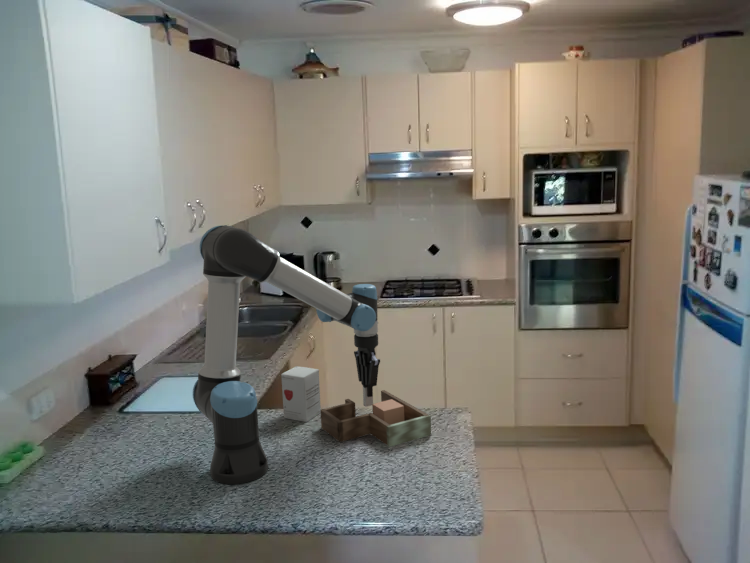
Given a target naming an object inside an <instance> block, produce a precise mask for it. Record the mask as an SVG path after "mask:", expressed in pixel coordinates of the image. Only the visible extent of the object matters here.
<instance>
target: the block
mask: <svg viewBox="0 0 750 563" xmlns="http://www.w3.org/2000/svg"><path fill="white" fill-rule="evenodd" d="M371 406H372V414H374V415H375V416H377V417H378V418H380V419H382V420H383V421H385V422H386V423H388V424H389V425H392V424H395V423H399V422H403V421H404V406H403V405H401V404H400V403H398V402H396V401H394V400H392V399H391V400H387V401H383V402H381V401H379V402H376V403H373V404H372V405H371Z"/></svg>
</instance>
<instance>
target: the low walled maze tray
mask: <svg viewBox="0 0 750 563" xmlns="http://www.w3.org/2000/svg"><path fill="white" fill-rule="evenodd" d="M391 399H392V400H394V401H396V402H398V403H400V404H401V405H403V406H404V421H403V422H399V423H395V424H392V425H389V424H388V423H386V422H385V421H383V420H382V419H380V418H378V417H377V416H375V415H374V414H373V412H369V413H370V414H371V415H370V434H369V435H371V436H373V437H374V438H376V439H377V440H378V441H380V442H381V443H383V444H385V446H387V447H389V448H392V447H395V446H397V445H402V444H405V443H409V442H411V441H415V440H419V439H422V438H426V437H429V436H432V422H431V421H432V420H431V418H432V417H431V416H432V415H430V414H428V413H426V412H425V411H423V410H421V409H419V408H417V407H415V406H413V405H412V404H410V403H408V402H407V401H405V400H403V399H401V398H399V397H397V395H394V394H392V393H391V392H388V391H387V390H385V389H383V390H380V400H381V401H380V402H383V401H387V400H391ZM344 401H345V402H344V404H346V403H350V402H352V405H353V404H354V405H353V406H352V409H353V411H352V412H354V413H352V414H353V415H354V416H353V415H352V416H353V417H357V413H356V402H354V401H353V400H351V399H350V398H345V399H344ZM353 407H354V408H353Z"/></svg>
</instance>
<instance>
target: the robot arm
mask: <svg viewBox="0 0 750 563" xmlns="http://www.w3.org/2000/svg"><path fill="white" fill-rule="evenodd" d="M199 253H200V257H201V258H202V259H203V272H202V274H203V276H204V277H205V278H206V279H207V281H208V284H207V300H206V301H207V303H206V325H205V345H204V361H203V362H204V364H203V366H202V367H201V368H199V370H198V372H197V373H198V374H197V375H198V377H197V380H196V382H195V383H194V385H193V387H192V399H193V402H194V405H195V407H196V408H197V410H198V411H199V412H200V413H202V415H204V417H206V419H208V420H209V421H210V422H211V423H212V426H213V437H214V438H213V439H214V450H213V454H212V457H211V463H210V466H209V469H210V471H209V472H210V477H211V479H213V481H216V482H217V483H220V484H225V485H237V484H238V485H239V484H245V483H250V482H253V481H255V480H257V479H260V478H261V477H263V476H264V475H265V474H266V473H267V472H268V470H269V463H268V462H269V461H268V457H267V455H266V453H265V451H264V448H263V446H262V444H261V441H260V429H259V416H258V398H257V394H256V391H255V388H254V387H253V386H252V385H251V384H249V383H247V382H245V381H242V382H241V378H242V374H241V372H242V371H241V370H240V369H239V368H238V367H237V365H236V364H237V352H238V350H237V349H238V348H237V347H238V330H239V314H240V313H239V311H240V295H241V294H240V293H241V292H240V291H241V290H240V289H241V283H242V281H243V280H245V279H246V277H247V278H250V279H251V280H254V281H256V282H257V283H260V284H262V283H267V284H269V285H271V286H274V287H275V288H277V289H278V290H281V291H283V292H285V293H286V294H288V295H290V296H292V297H294V298H296V299H297V300H299V301H302V302H303V303H304V304H307V305H308V306H311V307H312V308H314V309H316V315H317V318H318V319H319V320H320V321H321V323H328V322H329V323H332V322H337V323H340V324H342V325H344V326H347V327H349V328H352V329H353V333H354V335H353V339H354V340H353V342H354V343H353V344H354V346H355V347H356V348H357V350H354V351H353V355H354V358H355V363H356V369H357V370H356V371H357V378H358V381H359V382H360V383H361V384H360V385H362V399H363V400H362V402H363V403H362V404H363V406H364V407H366V408H367V407H370V406H372V404H374V393H373V389H374V388H373V387H376V386H377V383H378V374H379V365H380V364H381V358H377V357H376V347H378V346H379V334H378V332H379V328H378V324H379V321H378V319H379V318H378V300H379V299H378V292H377V287H376V285H374V284H370V283H359V284H354V285H353V286H352V290H351V292H350V293H344V292H343V291H341V290H339V289H337V288H336V287H334V286H332V285H331V284H330V283H327V282H325V281H324V280H323V279H319V278H318V277H316V276H315V275H313V274H311V273H309V272H308V271H306V270H304V269H303V268H300V267H299V266H297V265H295V264H294V263H292V262H290V261H288V260H287V259H285V258H283V257H281V256H280V253H279V251H278V250H276V249H275V248H273V247H271V246H270V245H269V244H268V243H266V242H264V241H263V240H262V239H260V238H258V237H257V236H256V235H254V234H253V233H251V232H250V231H248V230H246V229H242V228H239V227H238V228H237V227H234V226H232V225H217V226H212V227H211V228H209V229H208V230H207V231H206V232H204V234H203V235H202V237H201V238H200V242H199Z"/></svg>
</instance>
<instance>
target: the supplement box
mask: <svg viewBox="0 0 750 563" xmlns="http://www.w3.org/2000/svg"><path fill="white" fill-rule="evenodd" d="M280 376H281V385H282V386H281V389H282V406H283V418H284V419H288V420H293V421H294V420H295V421H297V422H298V421H299V422H304V423H307V422H309V421H311V420H312V419H314V418H315V417H316V416H317V415H319V414H321V411H320V410H321V409H322V408H321V387H320V369H318V368H313V367H306V366H297V365H295V366H294V367H293V368H290V369H289V370H287V371H284V372H283V373H281V374H280Z"/></svg>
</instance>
